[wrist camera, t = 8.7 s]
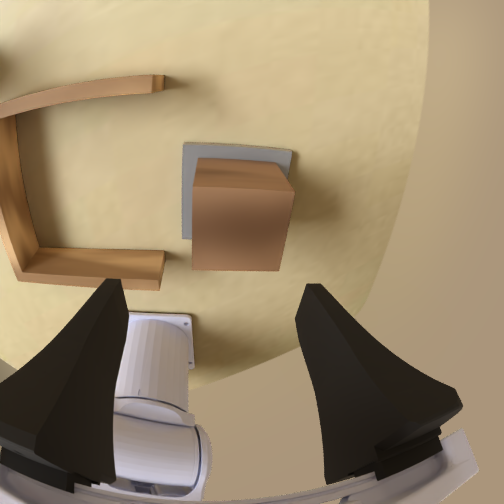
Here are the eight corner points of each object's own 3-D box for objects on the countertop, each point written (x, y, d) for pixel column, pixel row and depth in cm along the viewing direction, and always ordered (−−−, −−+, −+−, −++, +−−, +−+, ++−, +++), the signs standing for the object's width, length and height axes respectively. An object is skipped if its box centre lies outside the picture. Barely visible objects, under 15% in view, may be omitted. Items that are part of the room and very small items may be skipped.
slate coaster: (274, 237, 22) (275, 241, 21) (182, 234, 21) (182, 238, 20) (289, 149, 18) (292, 151, 17) (183, 142, 17) (183, 144, 16)
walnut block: (265, 227, 20) (278, 271, 16) (195, 225, 20) (192, 269, 16) (275, 162, 18) (295, 192, 14) (198, 157, 17) (192, 186, 13)
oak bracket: (165, 260, 22) (159, 290, 19) (34, 256, 20) (18, 281, 17) (164, 75, 14) (152, 74, 11) (6, 102, 12) (-23, 112, 9)
